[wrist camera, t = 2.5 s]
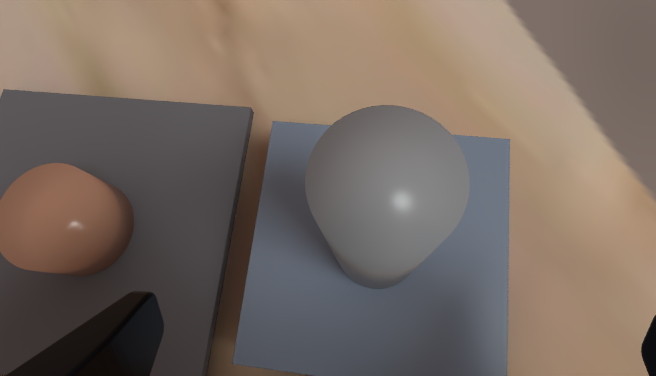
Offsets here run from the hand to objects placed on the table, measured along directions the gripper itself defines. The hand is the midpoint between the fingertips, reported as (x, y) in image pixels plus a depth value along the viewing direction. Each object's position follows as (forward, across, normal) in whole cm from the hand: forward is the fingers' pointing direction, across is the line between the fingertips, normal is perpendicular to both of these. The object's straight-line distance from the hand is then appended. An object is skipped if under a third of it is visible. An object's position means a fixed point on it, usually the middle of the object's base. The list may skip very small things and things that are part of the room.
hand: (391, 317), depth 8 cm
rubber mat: (+9, +12, +4) cm, 16 cm away
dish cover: (+8, 0, +5) cm, 9 cm away
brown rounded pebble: (+8, +12, +4) cm, 15 cm away
